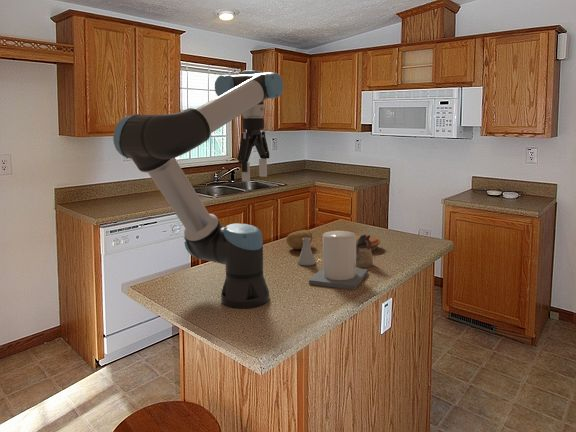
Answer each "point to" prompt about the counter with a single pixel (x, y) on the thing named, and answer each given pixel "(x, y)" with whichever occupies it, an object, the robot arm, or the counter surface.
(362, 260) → the figurine
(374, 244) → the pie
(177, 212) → the robot arm
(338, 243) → the white cylinder
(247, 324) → the counter surface
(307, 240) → the flask
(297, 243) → the potato
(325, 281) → the slate board
